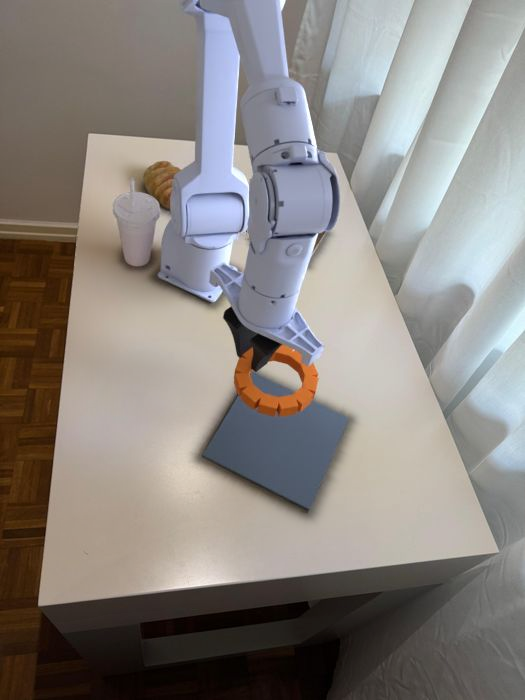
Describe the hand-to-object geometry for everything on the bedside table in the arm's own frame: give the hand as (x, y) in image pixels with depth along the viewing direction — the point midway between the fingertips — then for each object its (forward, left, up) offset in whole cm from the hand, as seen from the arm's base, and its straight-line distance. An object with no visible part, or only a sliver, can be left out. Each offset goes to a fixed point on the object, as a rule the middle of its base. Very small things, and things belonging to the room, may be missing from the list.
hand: (252, 359), depth 66 cm
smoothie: (-25, +15, -10) cm, 31 cm away
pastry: (-29, +31, -10) cm, 44 cm away
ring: (+4, -1, 0) cm, 4 cm away
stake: (-7, +33, -10) cm, 35 cm away
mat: (+6, -2, -10) cm, 12 cm away
